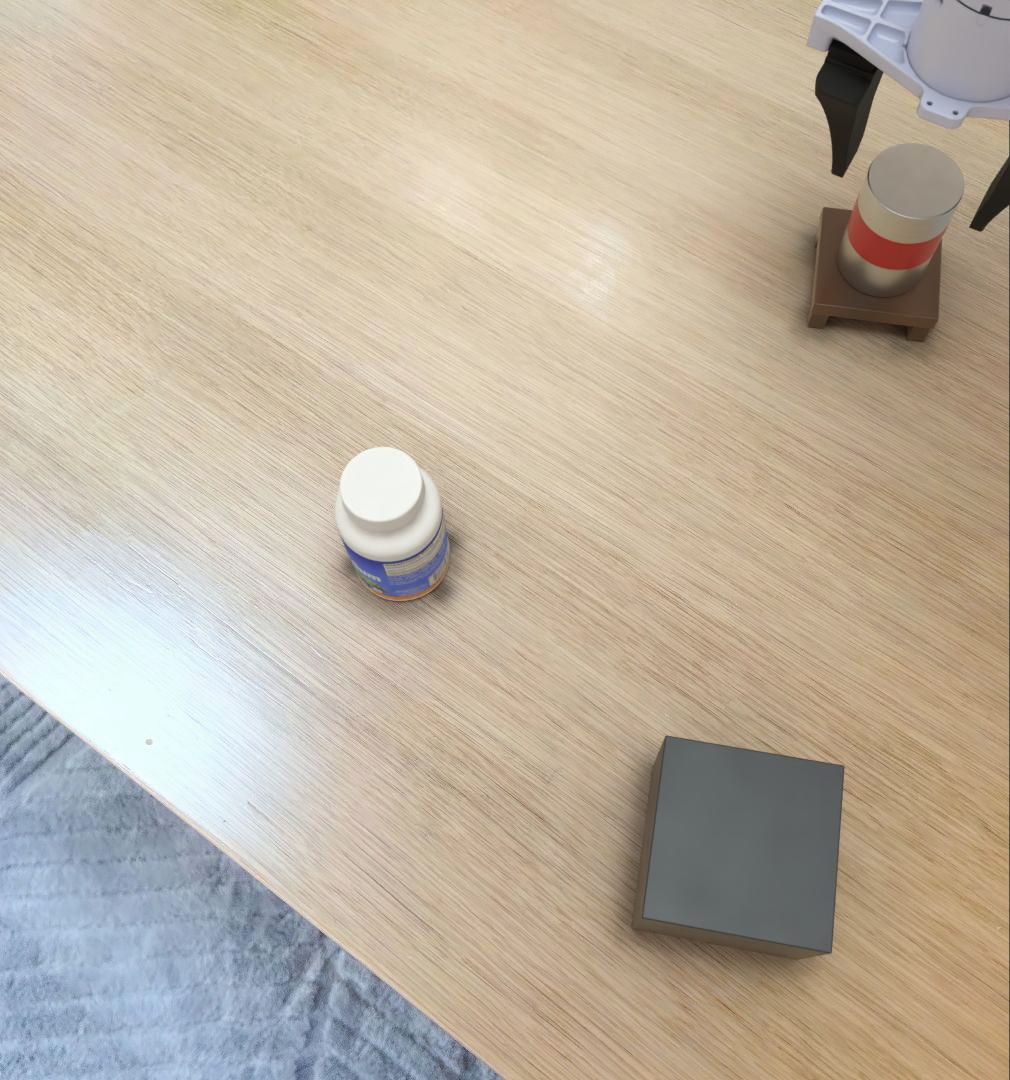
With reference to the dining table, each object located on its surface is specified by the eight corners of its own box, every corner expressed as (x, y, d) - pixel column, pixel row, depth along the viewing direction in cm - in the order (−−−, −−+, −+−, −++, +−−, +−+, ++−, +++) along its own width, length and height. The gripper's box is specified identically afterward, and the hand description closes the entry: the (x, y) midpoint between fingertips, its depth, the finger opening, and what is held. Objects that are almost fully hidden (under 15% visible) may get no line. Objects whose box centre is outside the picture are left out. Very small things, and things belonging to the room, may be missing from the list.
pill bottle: (339, 539, 63) (303, 461, 54) (426, 497, 63) (405, 414, 54) (380, 621, 61) (350, 554, 52) (469, 577, 61) (455, 504, 52)
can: (937, 246, 65) (979, 163, 59) (905, 311, 64) (944, 233, 57) (856, 214, 67) (888, 129, 60) (822, 277, 65) (852, 196, 59)
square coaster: (811, 792, 56) (845, 765, 50) (798, 960, 53) (832, 954, 47) (652, 765, 57) (665, 734, 51) (631, 928, 54) (641, 918, 48)
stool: (930, 246, 68) (943, 220, 66) (925, 343, 66) (938, 319, 64) (814, 232, 69) (823, 206, 67) (805, 328, 67) (814, 303, 64)
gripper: (807, -24, 47) (754, 192, 60) (1151, 97, 44) (1019, 298, 57) (872, -129, 49) (807, 100, 62) (1204, -21, 46) (1065, 198, 59)
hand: (911, 189), depth 59 cm, fingers open, 7 cm apart
